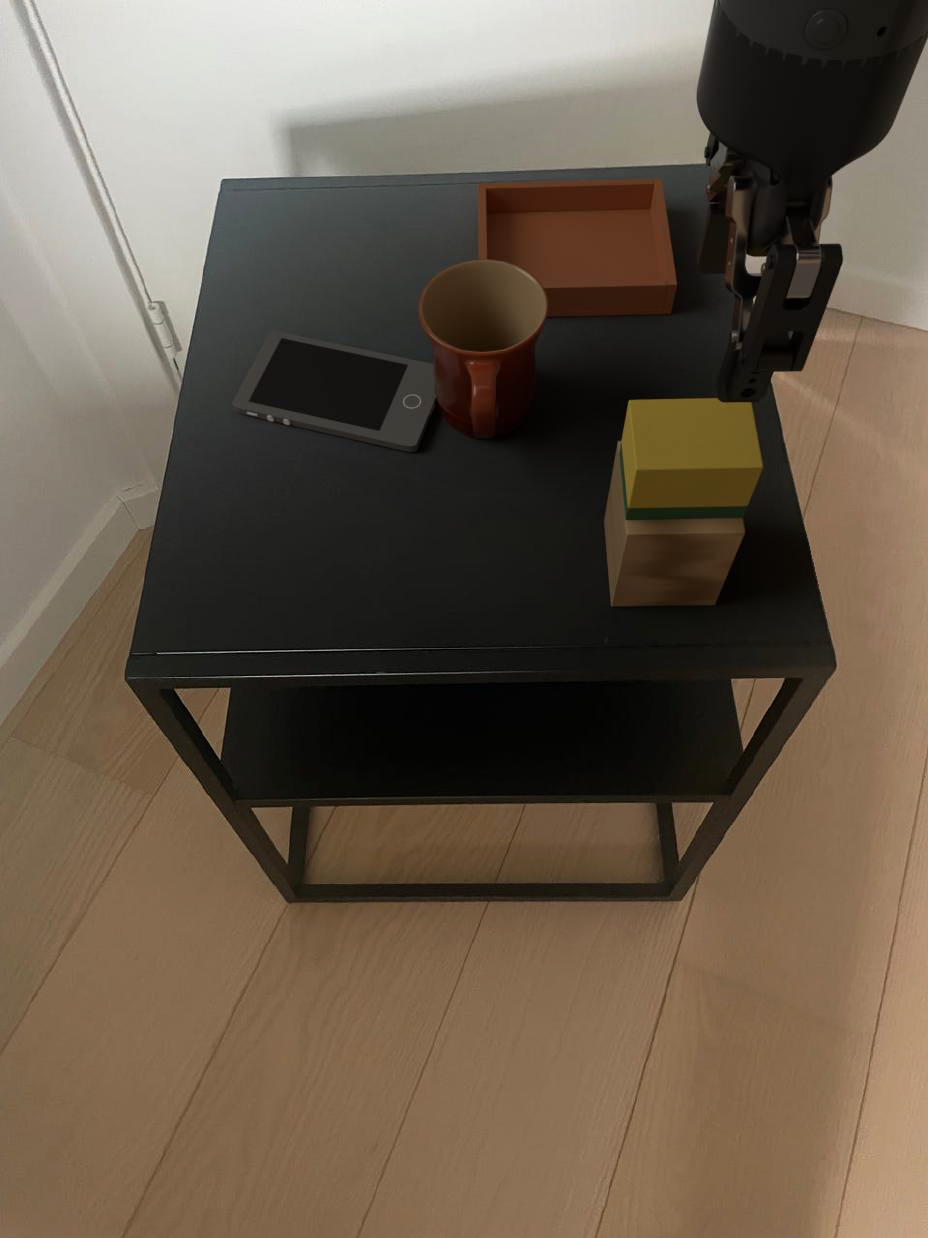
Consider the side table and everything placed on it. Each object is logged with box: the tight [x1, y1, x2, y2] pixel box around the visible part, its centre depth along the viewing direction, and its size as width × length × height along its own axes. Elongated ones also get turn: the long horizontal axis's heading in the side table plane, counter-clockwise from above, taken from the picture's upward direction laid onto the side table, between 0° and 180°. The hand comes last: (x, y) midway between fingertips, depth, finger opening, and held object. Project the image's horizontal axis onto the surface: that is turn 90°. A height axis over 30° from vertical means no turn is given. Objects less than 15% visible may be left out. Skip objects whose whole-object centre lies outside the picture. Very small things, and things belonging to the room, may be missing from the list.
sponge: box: [619, 397, 764, 520], centre depth 56 cm, size 7×5×5 cm
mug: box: [417, 258, 549, 440], centre depth 68 cm, size 12×9×10 cm
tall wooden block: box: [603, 440, 746, 608], centre depth 62 cm, size 7×7×9 cm
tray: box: [477, 177, 678, 318], centre depth 79 cm, size 15×12×3 cm
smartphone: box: [231, 330, 438, 453], centre depth 74 cm, size 15×8×1 cm, turn 73°
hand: (727, 329), depth 47 cm, fingers open, 8 cm apart
